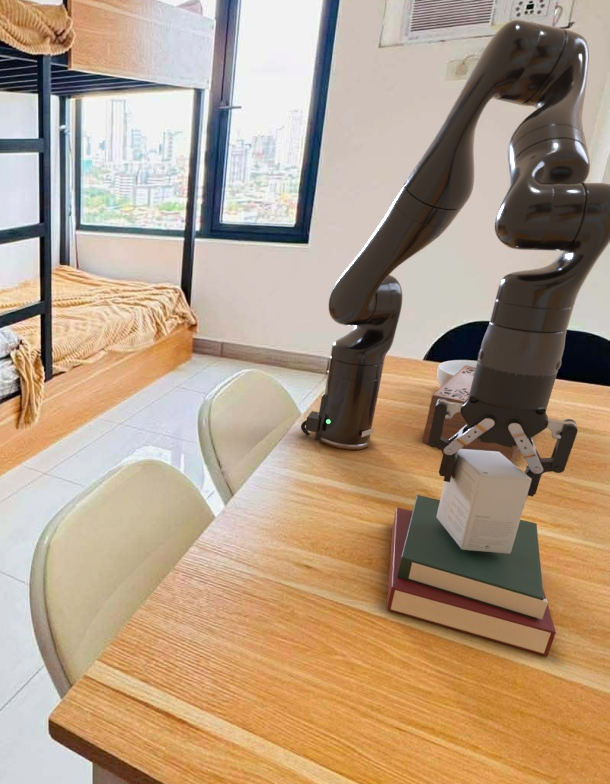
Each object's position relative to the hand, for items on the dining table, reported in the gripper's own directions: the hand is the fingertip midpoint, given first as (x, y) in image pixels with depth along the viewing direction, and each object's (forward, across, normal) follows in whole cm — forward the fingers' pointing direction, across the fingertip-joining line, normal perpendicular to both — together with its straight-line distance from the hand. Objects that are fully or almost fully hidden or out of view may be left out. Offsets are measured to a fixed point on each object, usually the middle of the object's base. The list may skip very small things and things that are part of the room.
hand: (483, 487), depth 79 cm
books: (+14, 0, 0) cm, 14 cm away
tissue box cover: (+14, 0, -60) cm, 62 cm away
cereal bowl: (+15, +2, -83) cm, 84 cm away
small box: (+7, 0, 0) cm, 7 cm away
